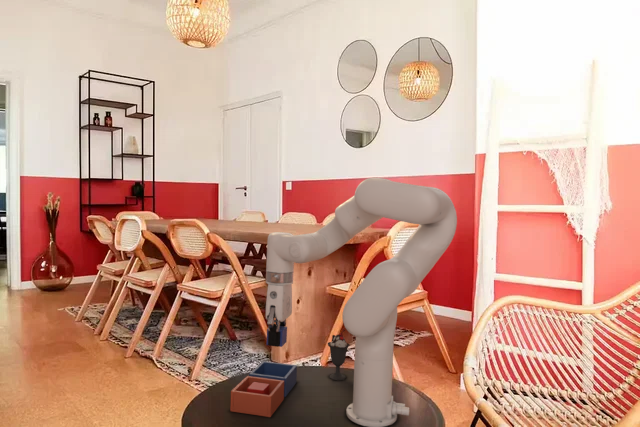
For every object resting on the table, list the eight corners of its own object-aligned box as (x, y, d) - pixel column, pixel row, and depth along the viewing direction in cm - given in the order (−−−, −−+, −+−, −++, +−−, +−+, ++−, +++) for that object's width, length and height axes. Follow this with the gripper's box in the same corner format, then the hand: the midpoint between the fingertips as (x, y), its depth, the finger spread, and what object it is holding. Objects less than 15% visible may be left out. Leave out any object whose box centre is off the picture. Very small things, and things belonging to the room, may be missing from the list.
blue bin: (296, 382, 137) (297, 365, 136) (285, 397, 126) (286, 378, 126) (262, 378, 139) (262, 361, 139) (248, 392, 129) (249, 373, 129)
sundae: (347, 382, 138) (348, 332, 137) (324, 380, 139) (326, 330, 138) (350, 374, 144) (351, 326, 144) (328, 372, 145) (330, 324, 145)
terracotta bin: (283, 399, 125) (284, 380, 125) (270, 417, 115) (271, 396, 114) (246, 394, 127) (247, 375, 127) (230, 411, 117) (230, 391, 117)
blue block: (286, 342, 131) (287, 326, 131) (281, 346, 127) (282, 330, 127) (271, 340, 132) (272, 324, 132) (266, 345, 128) (267, 329, 128)
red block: (268, 400, 123) (269, 383, 122) (263, 407, 118) (263, 390, 118) (253, 398, 124) (253, 381, 123) (246, 405, 119) (247, 388, 119)
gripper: (283, 284, 120) (280, 354, 121) (300, 273, 136) (298, 335, 137) (255, 281, 122) (253, 351, 122) (276, 271, 138) (273, 333, 139)
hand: (276, 342), depth 130 cm, fingers closed on blue block, 4 cm apart
